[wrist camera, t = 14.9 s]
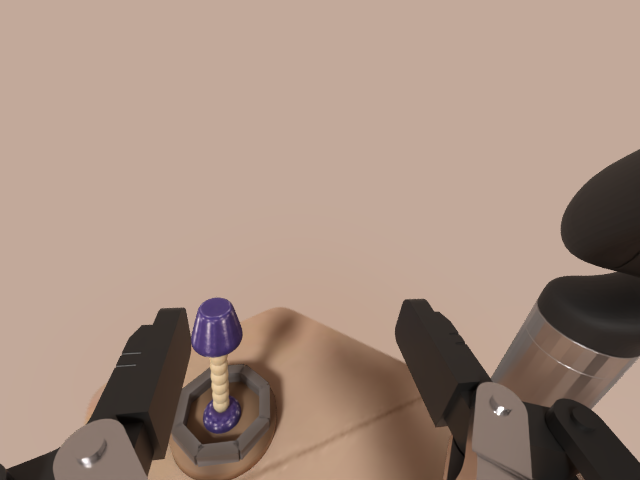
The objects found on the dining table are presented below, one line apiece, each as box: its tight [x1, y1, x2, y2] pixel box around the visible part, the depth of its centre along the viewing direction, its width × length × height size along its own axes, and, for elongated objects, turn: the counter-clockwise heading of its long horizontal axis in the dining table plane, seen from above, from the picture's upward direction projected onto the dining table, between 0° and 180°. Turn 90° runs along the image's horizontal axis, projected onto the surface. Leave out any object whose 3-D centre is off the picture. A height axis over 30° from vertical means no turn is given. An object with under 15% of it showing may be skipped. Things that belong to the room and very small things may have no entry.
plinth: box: [169, 364, 276, 480], centre depth 36 cm, size 12×12×4 cm
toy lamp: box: [191, 298, 242, 434], centre depth 31 cm, size 5×5×17 cm
